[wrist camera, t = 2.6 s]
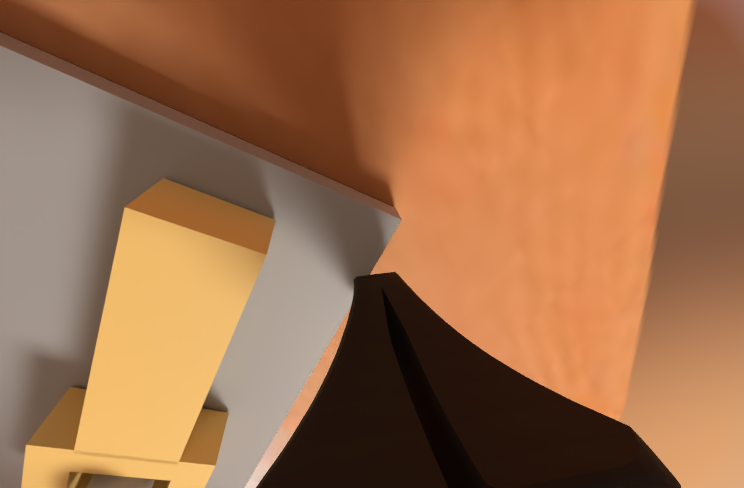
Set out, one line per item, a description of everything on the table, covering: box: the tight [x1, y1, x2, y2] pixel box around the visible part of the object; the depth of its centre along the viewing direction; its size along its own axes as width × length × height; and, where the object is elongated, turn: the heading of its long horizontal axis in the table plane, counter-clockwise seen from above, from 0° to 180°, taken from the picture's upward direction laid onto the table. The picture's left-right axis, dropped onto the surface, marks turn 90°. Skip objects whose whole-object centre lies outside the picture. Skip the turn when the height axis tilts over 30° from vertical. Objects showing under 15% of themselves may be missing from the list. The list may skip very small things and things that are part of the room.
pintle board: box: [0, 32, 402, 488], centre depth 10 cm, size 20×17×6 cm
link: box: [21, 178, 276, 488], centre depth 11 cm, size 14×5×2 cm, turn 152°
